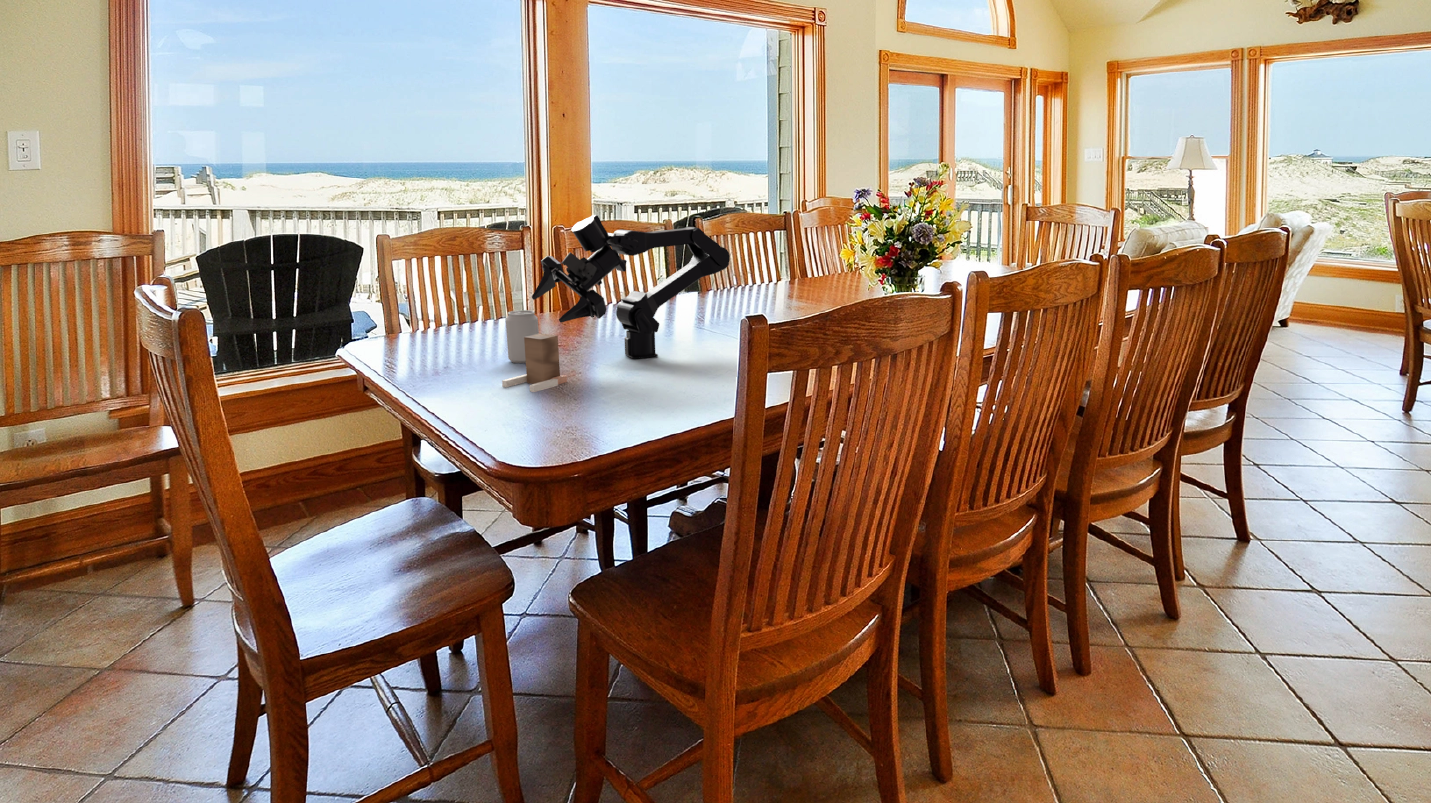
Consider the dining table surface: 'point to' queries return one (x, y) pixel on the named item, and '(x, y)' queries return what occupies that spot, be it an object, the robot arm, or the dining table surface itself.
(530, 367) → the block
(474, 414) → the dining table surface
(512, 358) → the can
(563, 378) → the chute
